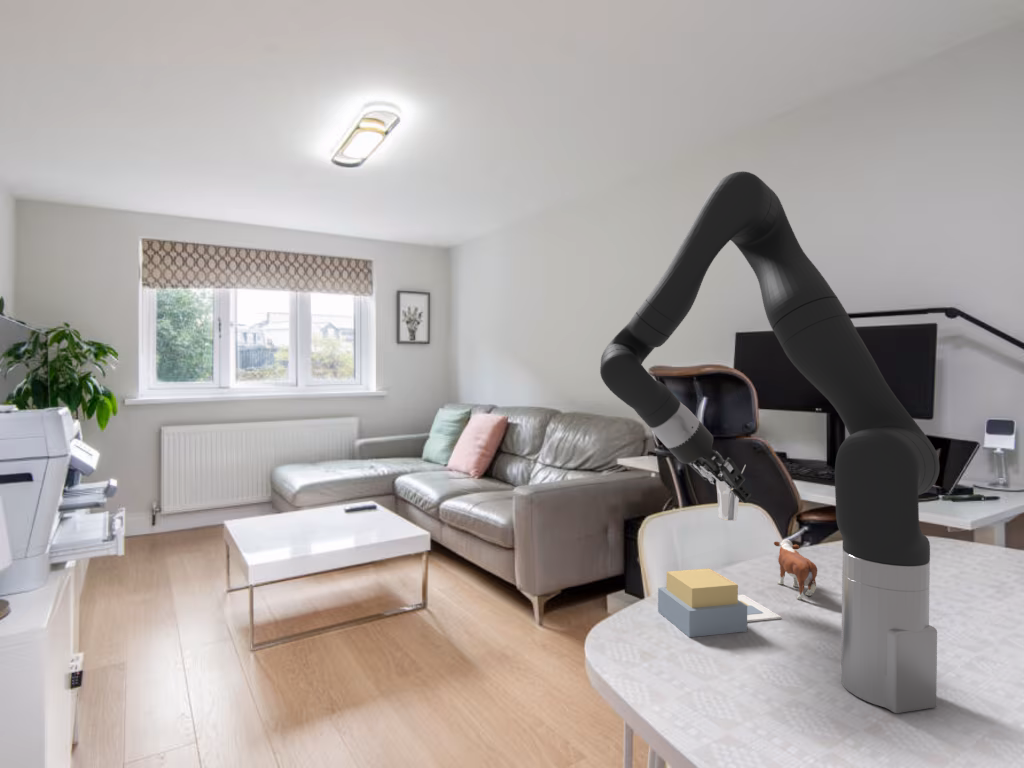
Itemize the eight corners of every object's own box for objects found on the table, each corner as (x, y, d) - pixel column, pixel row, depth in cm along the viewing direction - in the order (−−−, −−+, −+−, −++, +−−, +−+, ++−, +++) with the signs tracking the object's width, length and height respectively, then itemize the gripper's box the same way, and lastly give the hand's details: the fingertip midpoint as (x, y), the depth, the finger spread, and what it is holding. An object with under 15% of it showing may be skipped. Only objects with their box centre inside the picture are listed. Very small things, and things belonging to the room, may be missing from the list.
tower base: (747, 631, 89) (747, 586, 89) (689, 637, 87) (689, 591, 87) (710, 606, 99) (711, 566, 99) (658, 611, 97) (658, 570, 97)
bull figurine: (792, 577, 114) (792, 536, 114) (822, 604, 101) (822, 557, 101) (769, 577, 115) (769, 536, 114) (796, 602, 101) (796, 556, 101)
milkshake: (749, 522, 103) (750, 466, 103) (719, 521, 103) (720, 466, 103) (740, 515, 108) (741, 462, 107) (711, 515, 108) (712, 462, 108)
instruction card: (781, 618, 94) (781, 616, 94) (743, 622, 93) (743, 620, 93) (743, 596, 104) (743, 594, 104) (708, 599, 102) (708, 597, 102)
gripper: (716, 419, 97) (778, 488, 99) (674, 414, 111) (730, 475, 113) (687, 451, 96) (750, 520, 98) (648, 442, 110) (705, 503, 112)
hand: (739, 496), depth 106 cm, fingers closed on milkshake, 4 cm apart
